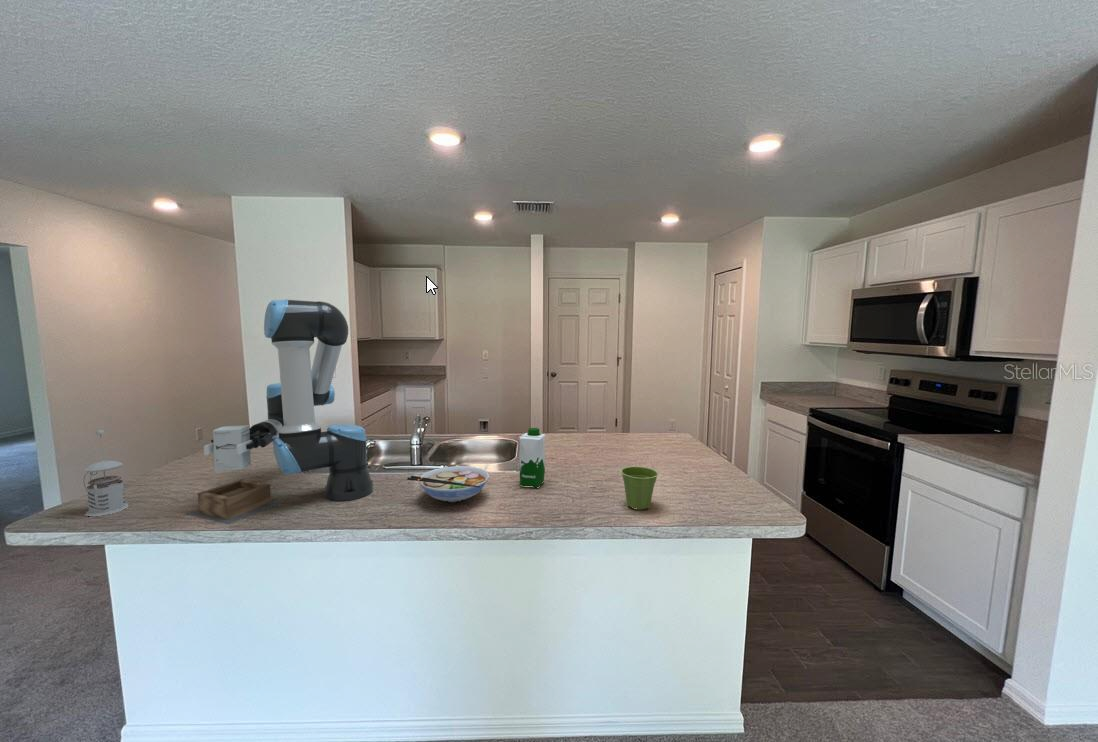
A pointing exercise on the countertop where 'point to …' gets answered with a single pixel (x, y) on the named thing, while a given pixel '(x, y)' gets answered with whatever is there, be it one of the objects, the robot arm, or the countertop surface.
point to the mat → (226, 521)
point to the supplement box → (230, 448)
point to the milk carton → (532, 458)
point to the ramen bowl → (453, 482)
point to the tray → (234, 499)
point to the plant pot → (639, 485)
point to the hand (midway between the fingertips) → (221, 450)
